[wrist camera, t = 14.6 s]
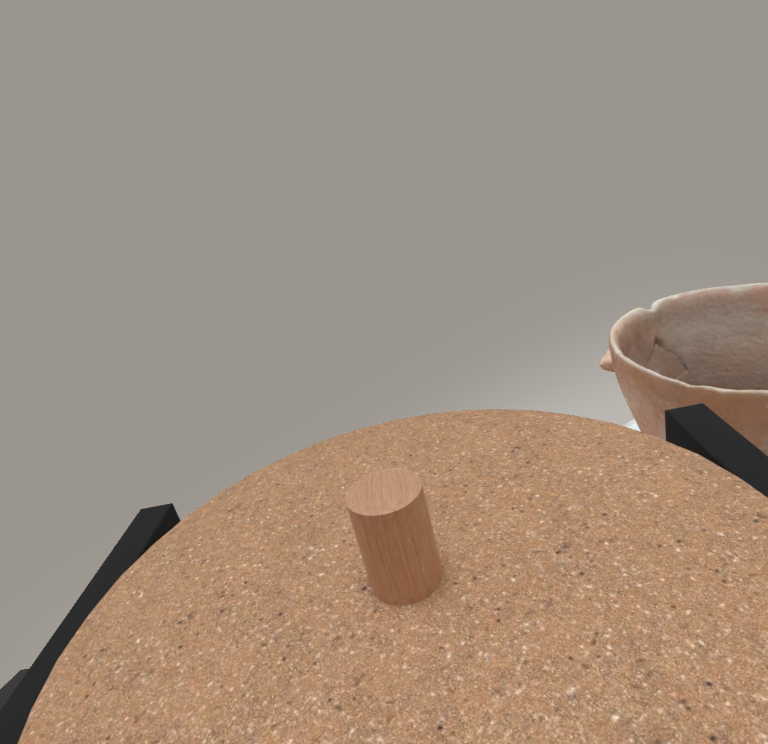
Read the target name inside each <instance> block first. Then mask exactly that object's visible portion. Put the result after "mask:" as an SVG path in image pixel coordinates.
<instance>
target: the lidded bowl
mask: <svg viewBox="0 0 768 744" xmlns="http://www.w3.org/2000/svg"><path fill="white" fill-rule="evenodd" d="M18 744H768V498H767V497H766V496H764V495H763V494H762V493H760V492H759V491H757V490H756V489H755V488H753V487H752V486H750V485H749V484H748V483H746V482H745V481H743V480H742V479H740V478H739V477H737V476H735V475H733V474H732V473H730V472H728V471H727V470H725V469H723V468H721V467H720V466H718V465H716V464H714V463H713V462H711V461H709V460H707V459H706V458H704V457H702V456H701V455H699V454H696V453H694V452H691V451H689V450H687V449H684V448H682V447H679V446H677V445H674V444H672V443H670V442H667V441H665V440H662V439H660V438H657V437H655V436H652V435H649V434H645V433H642V432H639V431H636V430H633V429H630V428H627V427H624V426H621V425H617V424H614V423H609V422H604V421H599V420H593V419H589V418H583V417H579V416H574V415H566V414H558V413H551V412H544V411H533V410H505V409H504V410H503V409H495V410H461V411H453V412H444V413H435V414H427V415H421V416H415V417H410V418H404V419H398V420H393V421H389V422H385V423H381V424H377V425H374V426H370V427H366V428H362V429H358V430H355V431H352V432H349V433H346V434H343V435H340V436H336V437H333V438H330V439H328V440H324V441H321V442H319V443H317V444H314V445H312V446H310V447H307V448H305V449H302V450H300V451H298V452H296V453H293V454H291V455H289V456H286V457H285V458H282V459H280V460H278V461H276V462H274V463H272V464H270V465H268V466H266V467H264V468H262V469H260V470H258V471H256V472H254V473H252V474H251V475H249V476H248V477H246V478H244V479H243V480H241V481H239V482H237V483H236V484H234V485H232V486H231V487H229V488H228V489H226V490H224V491H223V492H221V493H219V494H218V495H217V496H215V497H214V498H212V499H211V500H209V501H208V502H206V503H205V504H204V505H202V506H201V507H199V508H198V509H196V510H195V511H193V512H192V513H191V514H189V515H188V516H186V517H185V518H184V519H183V520H182V521H181V522H179V523H178V524H177V525H176V526H175V527H173V528H172V529H171V530H170V531H169V532H167V533H166V534H165V535H164V536H163V537H162V538H160V539H159V540H158V541H157V542H156V543H154V544H153V545H152V546H151V547H150V548H149V549H148V550H147V551H146V552H145V553H144V554H143V555H142V556H141V557H140V558H139V559H138V560H137V561H136V562H135V563H134V564H133V565H132V566H131V567H130V568H129V569H128V570H127V571H125V572H124V573H123V574H122V575H121V576H120V578H119V579H118V580H117V581H116V582H115V584H114V585H113V586H112V587H111V588H110V590H109V591H108V592H107V593H106V594H105V596H104V597H103V598H102V599H101V601H100V602H99V603H98V604H97V605H96V607H95V608H94V609H93V610H92V611H91V613H90V614H89V615H88V617H87V618H86V619H85V621H84V622H83V624H82V625H81V627H80V628H79V629H78V631H77V632H76V634H75V635H74V637H73V638H72V639H71V641H70V642H69V644H68V645H67V647H66V648H65V649H64V651H63V652H62V654H61V655H60V657H59V658H58V659H57V661H56V663H55V665H54V667H53V669H52V671H51V673H50V675H49V677H48V679H47V681H46V683H45V685H44V687H43V688H42V690H41V692H40V694H39V696H38V698H37V700H36V702H35V704H34V706H33V708H32V710H31V712H30V714H29V717H28V719H27V722H26V724H25V727H24V729H23V732H22V734H21V737H20V739H19V742H18Z"/></svg>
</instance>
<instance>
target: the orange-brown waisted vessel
mask: <svg viewBox="0 0 768 744" xmlns="http://www.w3.org/2000/svg"><path fill="white" fill-rule="evenodd" d="M609 347H610V349H609V350H608V351H607V352H606V353H605V354H604V356H603V357H602V358H601V360H600V367H601V368H602V369H604V370H607V371H612V372H615V374H616V377H617V380H618V383H619V385H620V388H621V390H622V393H623V395H624V397H625V398H626V401H627V403H628V406H629V408H630V410H631V412H632V414H633V416H634V418H635V420H636V422H637V424H638V426H639V428H640V430H641V432H642V433H645V434H649V435H652V436H655V437H657V438H660V439H662V440H665V441H666V431H665V410H669V409H674V408H680V407H685V406H690V405H695V404H701V403H703V404H704V405H706V406H707V407H708V408H709V409H711V410H712V411H713V412H714V413H715V414H717V415H718V416H719V417H720V418H722V419H723V420H724V421H725V422H726V423H728V424H729V425H730V426H731V427H733V428H734V429H735V430H736V431H737V432H739V433H740V434H741V435H742V436H744V437H745V438H746V439H747V440H748V441H750V442H751V443H752V444H753V445H755V446H756V447H757V448H758V449H760V450H761V451H762V452H763V453H764V454H766V455H767V456H768V283H757V284H747V285H735V286H723V287H722V286H721V287H713V288H705V289H700V290H695V291H688V292H684V293H679V294H676V295H672V296H667V297H664V298H662V299H659V300H657V301H655V302H653V304H652V307H651V308H650V310H646V309H642V308H636V309H634V310H632V311H630V312H628V313H627V314H625V315H624V316H623V317H621V318H620V319H619V320H618V321H617V322H616V323H615V324H614V326H613V327H612V329H611V331H610V335H609Z"/></svg>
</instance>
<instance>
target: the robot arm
mask: <svg viewBox="0 0 768 744" xmlns="http://www.w3.org/2000/svg"><path fill="white" fill-rule="evenodd" d="M665 431H666V441H667V442H670V443H672V444H674V445H677V446H679V447H682V448H684V449H687V450H689V451H691V452H694V453H696V454H699V455H701V456H702V457H704V458H706V459H707V460H709V461H711V462H713V463H714V464H716V465H718V466H720V467H721V468H723V469H725V470H727V471H728V472H730V473H732V474H733V475H735V476H737V477H739V478H740V479H742V480H743V481H745V482H746V483H748V484H749V485H750V486H752V487H753V488H755V489H756V490H757V491H759V492H760V493H762V494H763V495H764V496H766V497H767V498H768V456H767V455H766V454H764V453H763V452H762V451H761V450H760V449H758V448H757V447H756V446H755V445H753V444H752V443H751V442H750V441H748V440H747V439H746V438H745V437H744V436H742V435H741V434H740V433H739V432H737V431H736V430H735V429H734V428H733V427H731V426H730V425H729V424H728V423H726V422H725V421H724V420H723V419H722V418H720V417H719V416H718V415H717V414H715V413H714V412H713V411H712V410H711V409H709V408H708V407H707V406H706V405H704V404H703V403H701V404H695V405H690V406H685V407H680V408H674V409H669V410H665ZM179 522H181V521H180V519H179V517H178V515H177V513H176V510H175V508H174V506H173V504H166V505H161V506H156V507H150V508H146V509H141V510H140V512H139V513H138V514H137V516H136V517H135V519H134V520H133V521H132V523H131V524H130V526H129V527H128V529H127V530H126V531H125V533H124V534H123V536H122V537H121V539H120V540H119V542H118V543H117V544H116V546H115V547H114V549H113V550H112V552H111V553H110V554H109V556H108V557H107V559H106V560H105V561H104V563H103V564H102V566H101V567H100V569H99V570H98V571H97V573H96V574H95V576H94V577H93V579H92V580H91V582H90V583H89V584H88V586H87V587H86V589H85V590H84V592H83V593H82V594H81V596H80V597H79V599H78V600H77V602H76V603H75V604H74V606H73V607H72V609H71V610H70V612H69V613H68V614H67V616H66V617H65V619H64V620H63V622H62V623H61V624H60V626H59V627H58V629H57V630H56V632H55V633H54V634H53V636H52V637H51V639H50V640H49V642H48V643H47V645H46V646H45V647H44V649H43V650H42V652H41V653H40V655H39V656H38V658H37V659H36V660H35V662H34V663H33V665H32V666H31V667H30V669H25V670H20V671H19V672H18V673H17V674H16V675H15V676H14V677H13V678H12V679H11V680H10V681H9V682H8V683H7V684H6V685H5V686H3V688H1V689H0V744H18V742H19V739H20V737H21V734H22V732H23V729H24V727H25V724H26V722H27V719H28V717H29V714H30V712H31V710H32V708H33V706H34V704H35V702H36V700H37V698H38V696H39V694H40V692H41V690H42V688H43V687H44V685H45V683H46V681H47V679H48V677H49V675H50V673H51V671H52V669H53V667H54V665H55V663H56V661H57V659H58V658H59V657H60V655H61V654H62V652H63V651H64V649H65V648H66V647H67V645H68V644H69V642H70V641H71V639H72V638H73V637H74V635H75V634H76V632H77V631H78V629H79V628H80V627H81V625H82V624H83V622H84V621H85V619H86V618H87V617H88V615H89V614H90V613H91V611H92V610H93V609H94V608H95V607H96V605H97V604H98V603H99V602H100V601H101V599H102V598H103V597H104V596H105V594H106V593H107V592H108V591H109V590H110V588H111V587H112V586H113V585H114V584H115V582H116V581H117V580H118V579H119V578H120V576H121V575H122V574H123V573H124V572H125V571H127V570H128V569H129V568H130V567H131V566H132V565H133V564H134V563H135V562H136V561H137V560H138V559H139V558H140V557H141V556H142V555H143V554H144V553H145V552H146V551H147V550H148V549H149V548H150V547H151V546H152V545H153V544H154V543H156V542H157V541H158V540H159V539H160V538H162V537H163V536H164V535H165V534H166V533H167V532H169V531H170V530H171V529H172V528H173V527H175V526H176V525H177V524H178V523H179Z"/></svg>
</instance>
